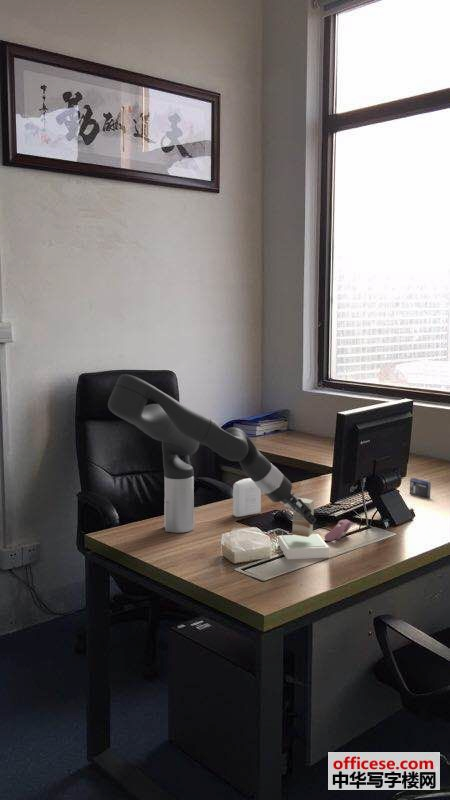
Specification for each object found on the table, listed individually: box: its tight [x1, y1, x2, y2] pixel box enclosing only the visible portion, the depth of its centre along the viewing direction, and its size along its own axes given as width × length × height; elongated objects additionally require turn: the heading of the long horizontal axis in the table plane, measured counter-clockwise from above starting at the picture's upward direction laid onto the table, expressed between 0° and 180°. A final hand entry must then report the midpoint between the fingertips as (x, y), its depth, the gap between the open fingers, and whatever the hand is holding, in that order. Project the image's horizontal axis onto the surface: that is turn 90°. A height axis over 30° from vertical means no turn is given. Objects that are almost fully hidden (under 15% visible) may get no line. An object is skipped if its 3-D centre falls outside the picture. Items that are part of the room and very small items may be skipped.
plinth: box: [278, 533, 330, 560], centre depth 210 cm, size 12×12×3 cm
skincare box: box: [291, 497, 315, 537], centre depth 208 cm, size 5×4×10 cm
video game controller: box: [324, 519, 353, 542], centre depth 222 cm, size 10×5×7 cm, turn 150°
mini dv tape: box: [409, 477, 432, 499], centre depth 270 cm, size 8×2×6 cm, turn 37°
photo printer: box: [232, 477, 262, 518], centre depth 246 cm, size 10×4×12 cm, turn 123°
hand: (308, 518), depth 209 cm, fingers closed on skincare box, 6 cm apart
